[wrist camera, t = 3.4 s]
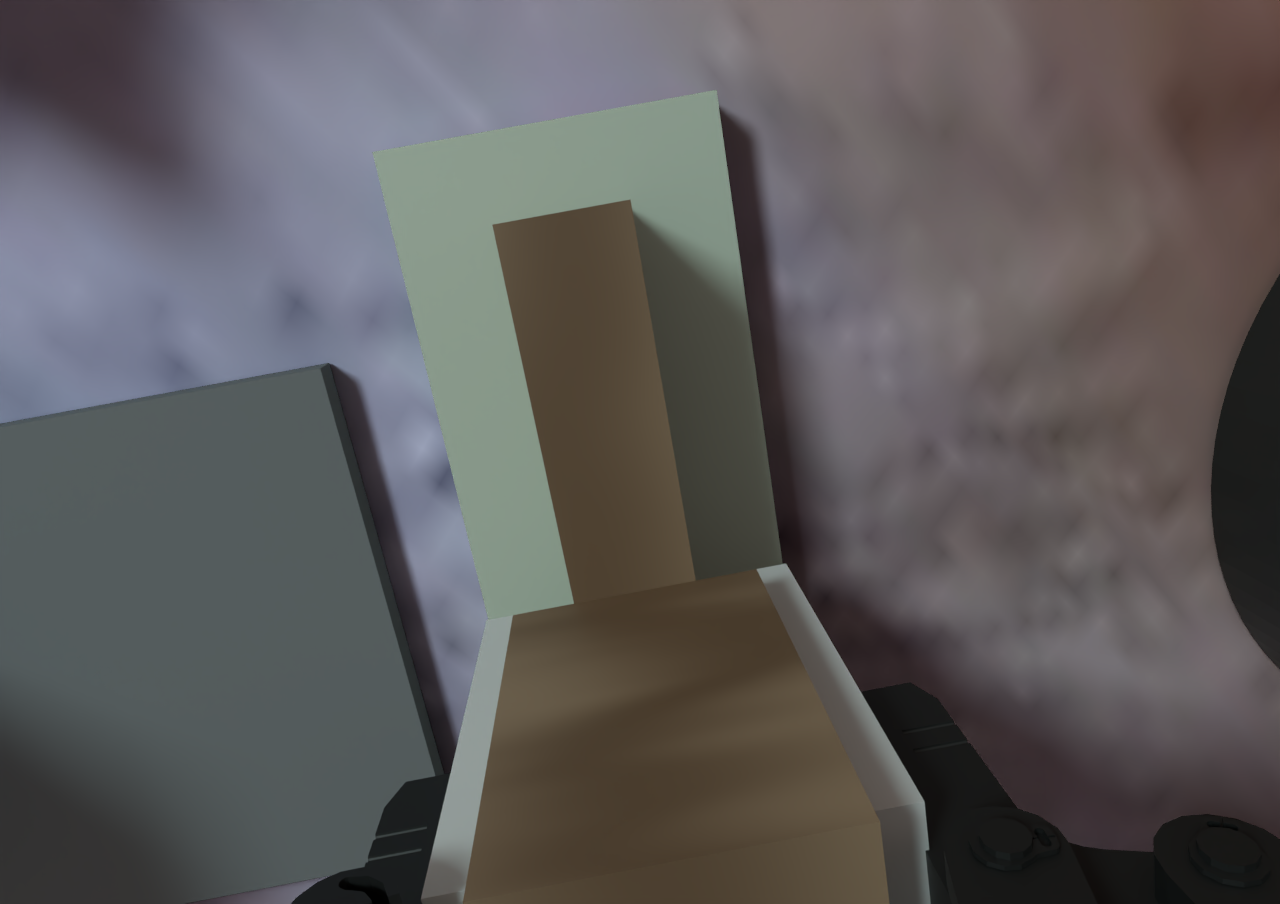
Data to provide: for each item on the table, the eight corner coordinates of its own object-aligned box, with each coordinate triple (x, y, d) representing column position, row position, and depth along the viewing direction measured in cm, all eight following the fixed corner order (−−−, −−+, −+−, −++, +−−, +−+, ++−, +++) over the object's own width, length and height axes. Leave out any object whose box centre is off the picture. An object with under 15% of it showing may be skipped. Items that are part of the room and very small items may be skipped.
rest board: (708, 97, 16) (716, 90, 15) (825, 921, 21) (837, 955, 20) (385, 155, 16) (372, 152, 15) (584, 969, 21) (583, 1005, 20)
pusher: (676, 192, 15) (803, 161, 6) (790, 916, 19) (955, 1477, 11) (453, 233, 15) (278, 258, 6) (617, 950, 19) (645, 1540, 11)
